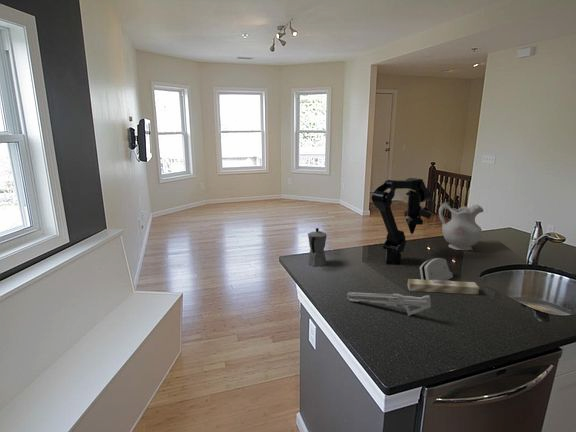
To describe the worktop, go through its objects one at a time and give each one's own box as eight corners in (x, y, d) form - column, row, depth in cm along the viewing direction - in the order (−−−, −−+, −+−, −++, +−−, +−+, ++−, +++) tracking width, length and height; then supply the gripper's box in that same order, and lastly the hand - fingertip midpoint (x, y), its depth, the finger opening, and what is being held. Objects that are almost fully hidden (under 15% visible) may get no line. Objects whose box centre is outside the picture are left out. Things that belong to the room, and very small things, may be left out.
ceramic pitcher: (439, 253, 188) (444, 208, 180) (433, 239, 206) (437, 198, 199) (483, 255, 184) (491, 210, 176) (473, 241, 202) (479, 199, 194)
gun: (431, 318, 120) (428, 296, 119) (348, 311, 136) (345, 292, 135) (432, 315, 121) (429, 294, 120) (350, 309, 137) (347, 290, 136)
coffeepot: (311, 257, 181) (311, 224, 177) (329, 259, 178) (329, 225, 174) (302, 268, 167) (302, 232, 163) (321, 271, 164) (322, 234, 160)
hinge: (432, 287, 146) (426, 263, 146) (422, 287, 150) (416, 264, 150) (453, 276, 156) (448, 254, 156) (443, 277, 159) (438, 255, 160)
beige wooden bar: (409, 290, 143) (410, 283, 142) (407, 285, 148) (408, 278, 147) (478, 294, 139) (479, 286, 138) (474, 289, 143) (474, 281, 143)
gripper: (435, 207, 165) (432, 239, 168) (427, 200, 183) (424, 229, 186) (410, 207, 166) (408, 239, 170) (404, 199, 184) (402, 228, 188)
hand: (411, 233), depth 179 cm, fingers closed
